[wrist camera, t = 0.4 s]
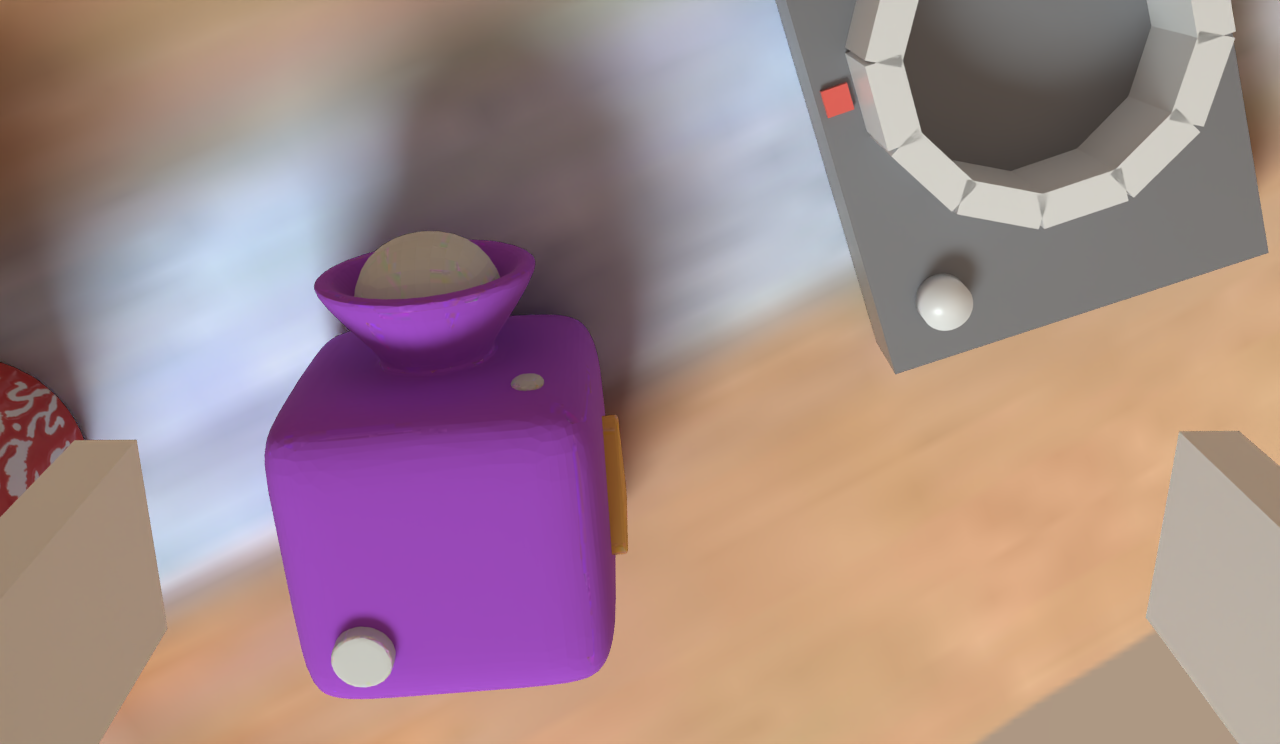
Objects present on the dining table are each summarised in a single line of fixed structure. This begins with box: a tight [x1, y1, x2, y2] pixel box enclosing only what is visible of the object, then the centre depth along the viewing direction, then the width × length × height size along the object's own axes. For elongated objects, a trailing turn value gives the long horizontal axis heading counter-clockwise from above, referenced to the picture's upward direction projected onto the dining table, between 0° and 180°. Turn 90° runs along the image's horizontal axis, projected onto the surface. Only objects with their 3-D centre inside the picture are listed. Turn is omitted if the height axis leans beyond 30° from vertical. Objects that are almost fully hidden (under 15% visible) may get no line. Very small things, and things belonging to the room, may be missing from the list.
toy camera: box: [265, 231, 628, 699], centre depth 38 cm, size 11×14×10 cm
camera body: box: [775, 0, 1268, 374], centre depth 36 cm, size 18×12×6 cm, turn 19°
